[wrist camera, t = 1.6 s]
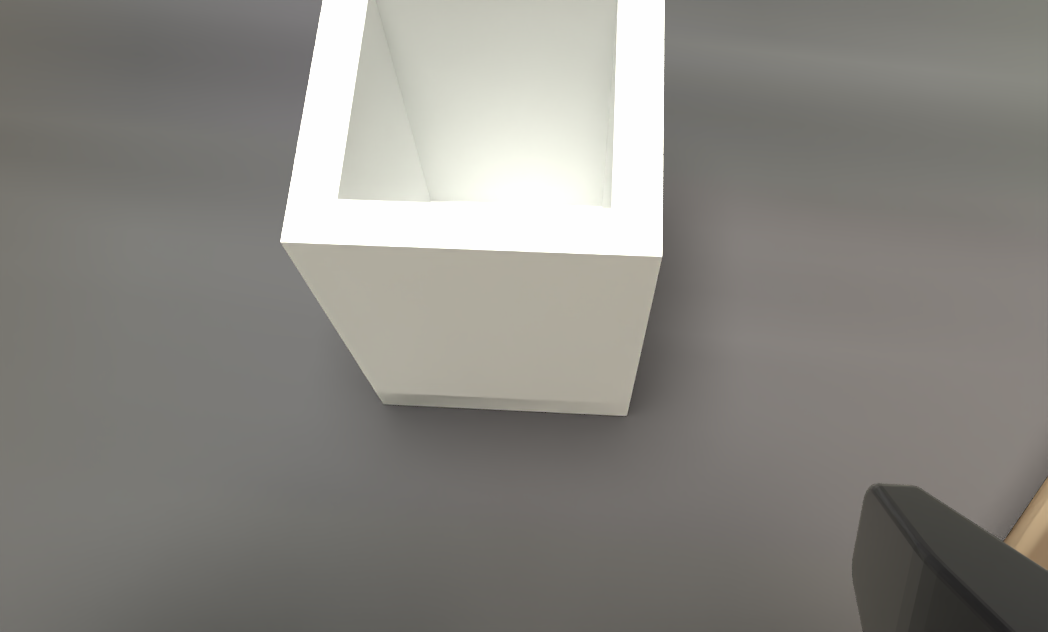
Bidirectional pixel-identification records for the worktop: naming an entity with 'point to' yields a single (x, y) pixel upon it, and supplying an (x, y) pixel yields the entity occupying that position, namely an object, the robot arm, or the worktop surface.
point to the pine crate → (1033, 529)
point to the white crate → (485, 197)
